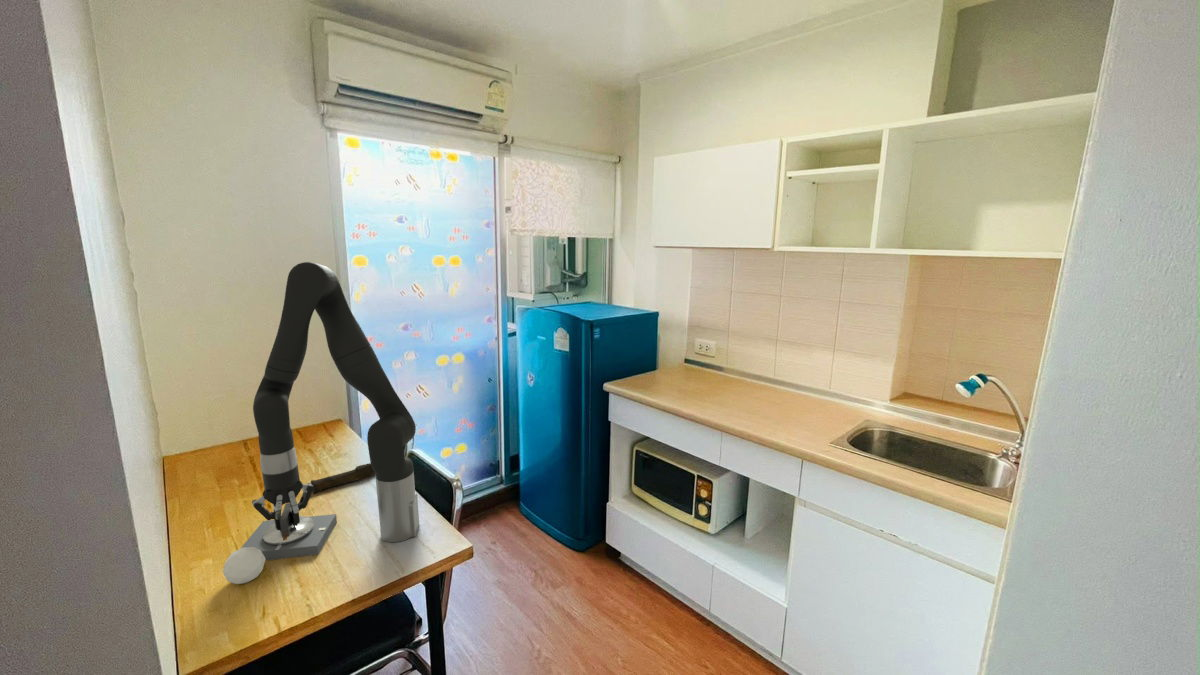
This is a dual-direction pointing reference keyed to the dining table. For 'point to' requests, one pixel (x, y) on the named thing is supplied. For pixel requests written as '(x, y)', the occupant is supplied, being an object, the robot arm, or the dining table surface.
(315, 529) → the dial panel
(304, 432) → the dining table surface
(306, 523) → the dial knob
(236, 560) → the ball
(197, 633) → the dining table surface
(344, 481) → the hand tool
